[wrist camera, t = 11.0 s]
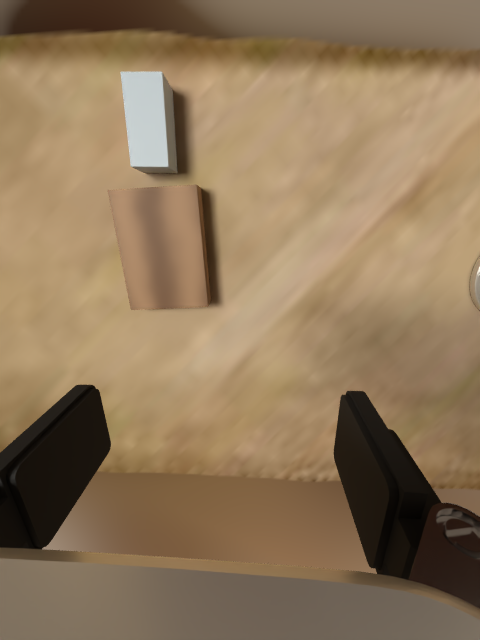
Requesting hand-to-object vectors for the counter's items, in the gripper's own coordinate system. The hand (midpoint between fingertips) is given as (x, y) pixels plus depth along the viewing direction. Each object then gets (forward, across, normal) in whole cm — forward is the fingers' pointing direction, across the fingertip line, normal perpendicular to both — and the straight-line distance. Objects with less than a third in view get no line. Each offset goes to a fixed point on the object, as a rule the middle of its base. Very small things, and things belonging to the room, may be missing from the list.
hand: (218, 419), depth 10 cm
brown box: (+27, +10, -4) cm, 29 cm away
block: (+25, +10, -13) cm, 30 cm away
